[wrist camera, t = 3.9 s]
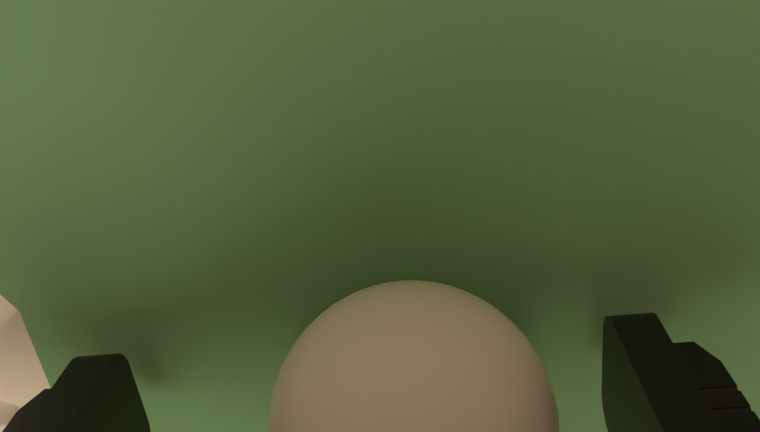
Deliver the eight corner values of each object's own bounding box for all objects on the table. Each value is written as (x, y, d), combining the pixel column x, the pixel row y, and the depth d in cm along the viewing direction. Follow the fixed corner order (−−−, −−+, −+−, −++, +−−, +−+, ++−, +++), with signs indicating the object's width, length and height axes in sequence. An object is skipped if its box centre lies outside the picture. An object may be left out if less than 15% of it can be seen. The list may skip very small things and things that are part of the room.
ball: (529, 220, 12) (593, 395, 8) (536, 423, 13) (590, 649, 9) (271, 243, 12) (203, 424, 8) (312, 438, 14) (274, 662, 10)
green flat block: (739, -135, 13) (887, -142, 9) (689, 430, 19) (765, 577, 15) (-476, 28, 15) (-792, 80, 11) (-181, 488, 21) (-319, 630, 17)
